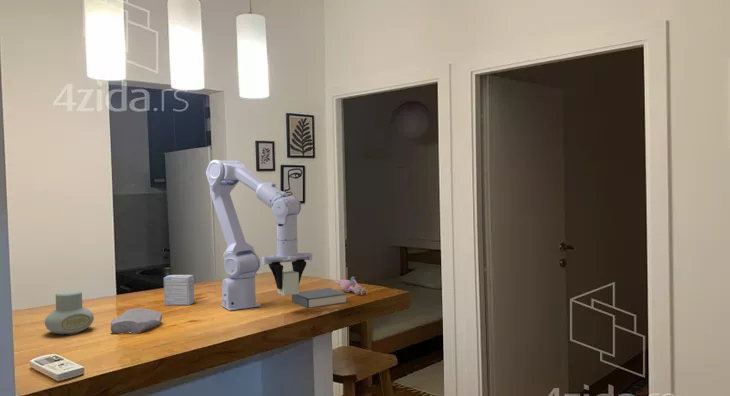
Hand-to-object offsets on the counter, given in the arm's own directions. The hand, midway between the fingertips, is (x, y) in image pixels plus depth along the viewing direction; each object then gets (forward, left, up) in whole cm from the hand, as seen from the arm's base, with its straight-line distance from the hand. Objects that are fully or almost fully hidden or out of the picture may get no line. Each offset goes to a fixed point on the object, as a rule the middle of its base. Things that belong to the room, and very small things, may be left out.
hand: (288, 287), depth 160 cm
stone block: (-39, +7, -8) cm, 40 cm away
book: (+13, +7, -7) cm, 16 cm away
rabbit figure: (+28, +14, -7) cm, 32 cm away
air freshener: (-54, +13, -7) cm, 56 cm away
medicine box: (-23, +30, -7) cm, 38 cm away
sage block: (0, 0, -2) cm, 2 cm away
